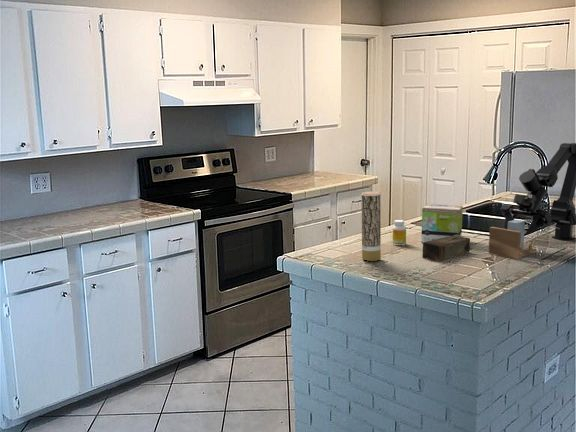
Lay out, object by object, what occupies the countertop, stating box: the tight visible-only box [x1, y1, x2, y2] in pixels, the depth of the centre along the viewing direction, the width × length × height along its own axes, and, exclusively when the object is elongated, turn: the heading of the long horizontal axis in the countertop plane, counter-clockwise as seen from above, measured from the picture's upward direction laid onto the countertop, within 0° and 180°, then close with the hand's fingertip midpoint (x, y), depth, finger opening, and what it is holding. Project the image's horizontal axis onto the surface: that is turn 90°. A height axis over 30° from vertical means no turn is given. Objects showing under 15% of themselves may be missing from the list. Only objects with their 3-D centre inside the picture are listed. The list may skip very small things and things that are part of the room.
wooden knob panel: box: [488, 226, 537, 260], centre depth 228 cm, size 13×12×10 cm
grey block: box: [508, 219, 526, 250], centre depth 228 cm, size 5×4×12 cm
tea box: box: [421, 203, 463, 243], centre depth 249 cm, size 15×10×15 cm
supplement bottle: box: [392, 219, 407, 246], centre depth 247 cm, size 5×5×10 cm
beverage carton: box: [421, 235, 471, 262], centre depth 228 cm, size 8×19×7 cm, turn 127°
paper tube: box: [361, 191, 382, 262], centre depth 224 cm, size 7×7×25 cm
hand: (515, 232), depth 228 cm, fingers open, 9 cm apart
